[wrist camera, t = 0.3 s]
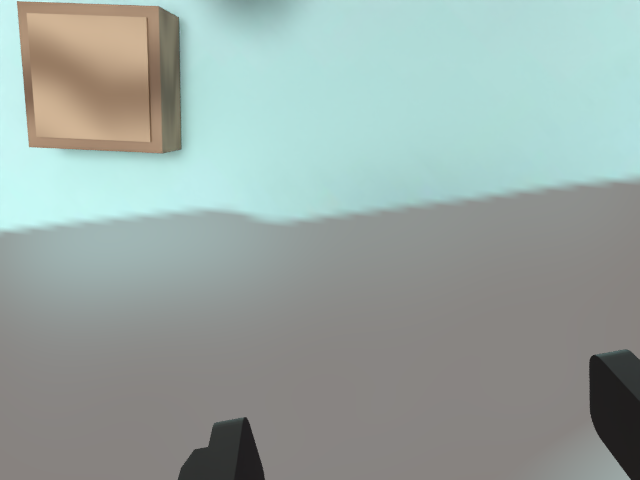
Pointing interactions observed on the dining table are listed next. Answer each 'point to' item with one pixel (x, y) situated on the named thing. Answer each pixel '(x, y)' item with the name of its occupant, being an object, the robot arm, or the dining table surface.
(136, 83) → the base
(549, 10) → the dining table surface
